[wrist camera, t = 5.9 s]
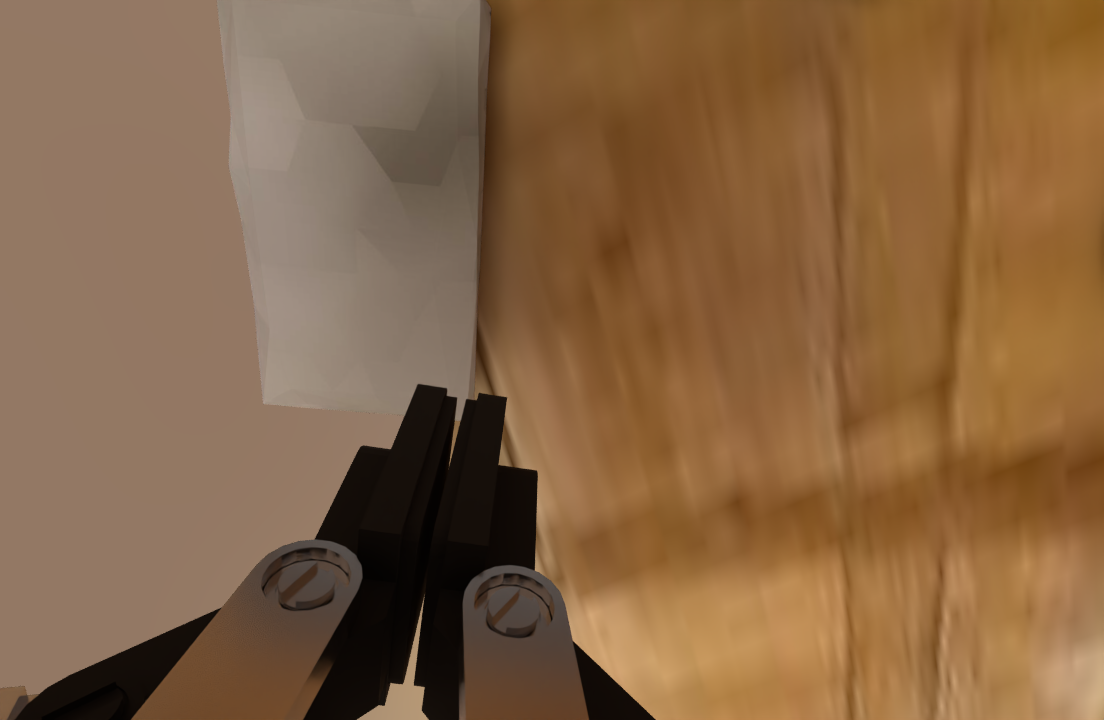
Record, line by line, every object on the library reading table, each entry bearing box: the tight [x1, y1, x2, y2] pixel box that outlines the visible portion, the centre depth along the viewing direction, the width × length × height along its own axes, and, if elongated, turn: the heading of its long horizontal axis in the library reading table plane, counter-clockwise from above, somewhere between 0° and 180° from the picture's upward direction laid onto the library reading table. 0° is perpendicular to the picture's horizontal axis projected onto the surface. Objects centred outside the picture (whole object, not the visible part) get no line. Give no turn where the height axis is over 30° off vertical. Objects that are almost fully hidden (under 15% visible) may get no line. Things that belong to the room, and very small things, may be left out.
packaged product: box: [217, 0, 491, 421], centre depth 27 cm, size 18×5×10 cm
